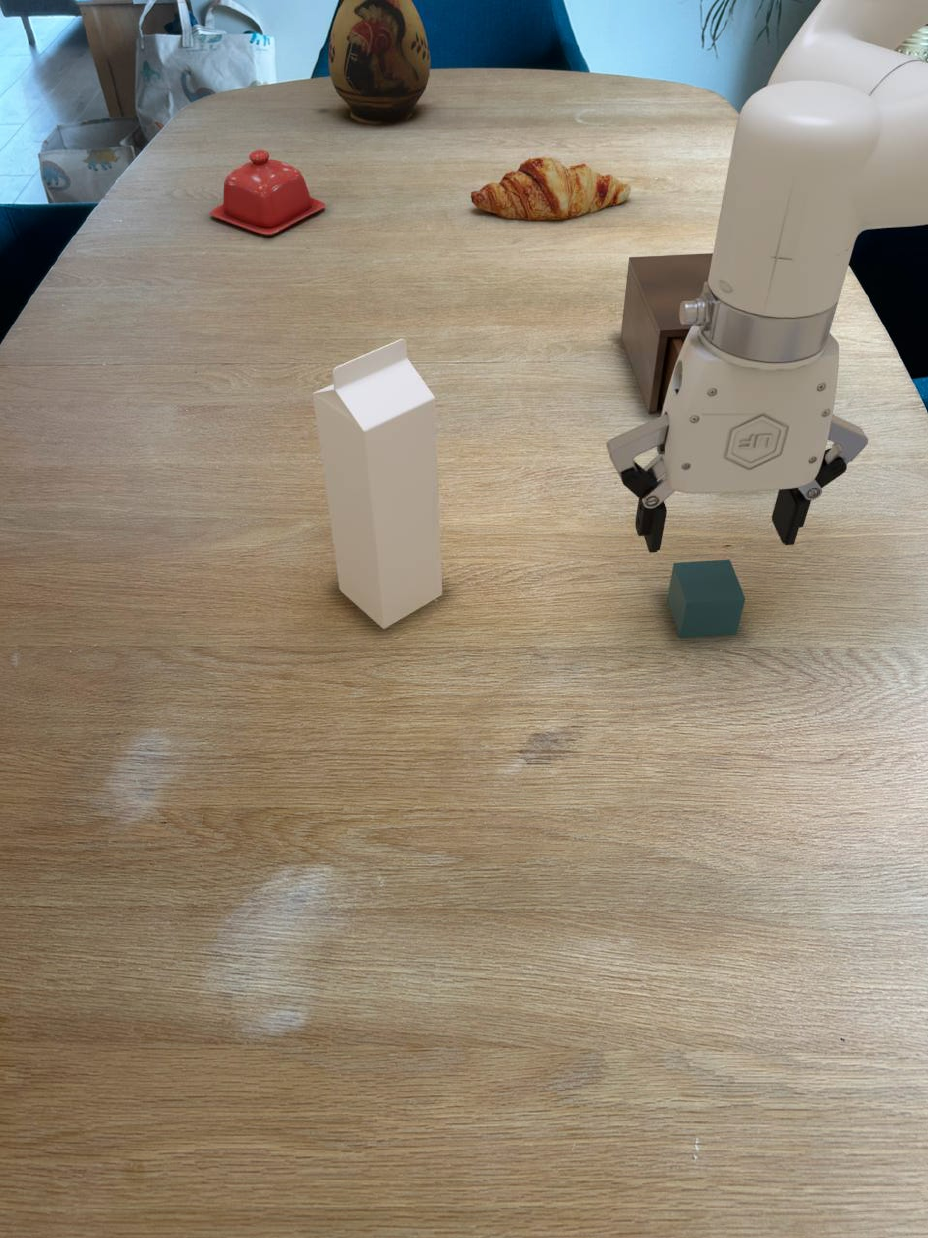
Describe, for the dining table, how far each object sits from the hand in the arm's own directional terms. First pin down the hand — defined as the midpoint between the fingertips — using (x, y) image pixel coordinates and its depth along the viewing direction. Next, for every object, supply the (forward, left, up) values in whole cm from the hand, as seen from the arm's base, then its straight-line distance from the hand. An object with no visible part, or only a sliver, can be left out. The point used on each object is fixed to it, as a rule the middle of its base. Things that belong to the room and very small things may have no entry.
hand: (716, 536), depth 72 cm
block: (0, 0, -9) cm, 9 cm away
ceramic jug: (+23, -114, -9) cm, 117 cm away
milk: (+24, -5, -9) cm, 26 cm away
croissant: (+1, -76, -9) cm, 77 cm away
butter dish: (+38, -78, -9) cm, 87 cm away
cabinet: (-8, -35, -9) cm, 37 cm away
